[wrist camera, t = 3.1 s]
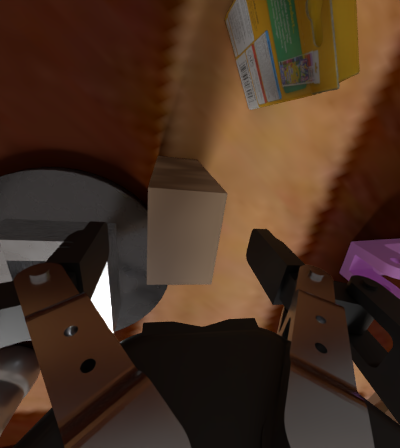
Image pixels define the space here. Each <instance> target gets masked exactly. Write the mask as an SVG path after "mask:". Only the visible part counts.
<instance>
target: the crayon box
mask: <svg viewBox="0 0 400 448" xmlns="http://www.w3.org/2000/svg"><path fill="white" fill-rule="evenodd" d="M225 23H226V26H227V29H228V33H229V37H230V40H231V44H232V47H233V51H234V55H235V58H236V63H237V66H238V70H239V74H240V78H241V82H242V85H243V89H244V92H245V96H246V100H247V104H248V108H249V109H250V110H251V109H256V108H260V107H265V106H269V105H273V104H278V103H282V102H286V101H291V100H295V99H299V98H303V97H307V96H312V95H315V94H318V93H322V92H326V91H330V90H337V89H339V83H340V82H342V81H344V80H346V79H348V78H350V77H352V76H354V75H357V74H358V73H359V53H358V30H357V8H356V0H234V1H233V3H232V5H231V7H230V9H229V10H228V12H227V14H226V16H225Z"/></svg>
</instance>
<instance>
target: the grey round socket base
mask: <svg viewBox="0 0 400 448" xmlns="http://www.w3.org/2000/svg"><path fill="white" fill-rule="evenodd" d="M90 221H97V222H106V223H107V226H108V238H109V257H108V261H107V263H106V265H105V268H104V270H103V272H102V275H101V277H100V279H99V282H98V284H97V286H96V289H95V291H94V293H93V296H92V298H91V301H92V302H93V304H94V305H95V307H96V308H97V310H98V311H99V313H100V315H101V316H102V318H103V319H104V321H105V322H106V324H107V325H108V327H109V328H110V330H111V331H112V333H113V334H114V332H115V331H117V330H120V329H122V328H125V327H127V326H129V325H131V324H133V323H135V322H137V321H138V320H140V319H141V318H143V317H144V316H145V315H147V314H148V313H149V312H150V311H151V310H152V309H153V308H154V307H155V306H156V305H157V304H158V302H159V301H160V299H161V298H162V296H163V294H164V292H165V290H166V288H167V285H147V227H148V207H147V206H146V205H145V204H144V203H143V202H142V201H141V200H140V199H138V198H137V197H136V196H135V195H134V194H132V193H131V192H129V191H128V190H126V189H125V188H123V187H122V186H120V185H118V184H116V183H114V182H112V181H110V180H108V179H106V178H103V177H100V176H98V175H95V174H92V173H88V172H84V171H81V170H76V169H69V168H60V167H42V168H32V169H26V170H22V171H18V172H14V173H11V174H7V175H4V176H1V177H0V283H5V282H10V281H14V278H15V276H16V275H17V274H18V273H19V272H21V271H22V270H24V269H26V268H28V267H30V266H33V265H36V264H40V263H45V262H46V261H47V259H48V258H49V257H50V256H51V255H52V254H53V253H54V251H55V250H56V249H57V248H58V247H59V246H60V245H61V243H62V242H64V240H65V239H66V238H67V237H68V235H70V234H72V233H74V232H76V231H77V230H83V229H84V228H85V227H86V225H87V224H88V223H89V222H90ZM26 341H31V339H29V340H26Z"/></svg>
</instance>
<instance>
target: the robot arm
mask: <svg viewBox="0 0 400 448" xmlns="http://www.w3.org/2000/svg"><path fill="white" fill-rule="evenodd" d="M108 257H109V238H108V226H107V223H106V222H97V221H90V222H89V223H88V224H87V225H86V227H85V228H84V229H83V230H77V231H76V232H74V233H72V234H70V235H68V237H67V238H66V239H65V240H64V242H62V243H61V245H60V246H59V247H58V248H57V249H56V250H55V251H54V253H53V254H52V255H51V256H50V257H49V258H48V259H47V261H46V262H45V263H40V264H36V265H33V266H30V267H28V268H26V269H24V270H22V271H21V272H19V273H18V274H17V275H16V276H15V278H14V281H10V282H5V283H0V351H1V349H2V348H3V347H5V346H9V345H12V344H15V343H19V342H22V341H26V340H29V339H31V341H32V344H33V347H34V350H35V354H36V357H37V360H38V363H39V366H40V370H41V373H42V376H43V379H44V382H45V386H46V389H47V392H48V395H49V398H50V402H51V405H52V408H51V409H50V410H49V411H48V412H47V413H46V414H45V415H44V416H43V417H42V418H41V419H40V420H39V421H38V422H37V423H36V424H35V425H34V426H33V427H32V428H31V429H30V430H29V431H28V432H27V433H26V434H25V435H24V436H23V437H22V439H21V440H20V441H19V442H18V443H17V444H16V445H15V446H14V447H13V448H400V425H399V424H400V299H399V298H398V297H396V296H395V295H394V294H393V293H391V292H390V291H389V290H387V289H386V288H385V287H384V286H382V285H381V284H379V283H378V282H376V281H374V280H372V279H370V278H367V277H364V276H360V275H353V276H351V278H350V280H349V281H348V283H347V284H346V283H342V282H337V281H333V278H332V277H331V276H330V275H329V274H328V273H327V272H326V271H324V270H322V269H320V268H318V267H315V266H311V265H305V264H304V263H303V262H302V261H301V260H300V259H299V258H298V257H297V256H296V255H295V254H294V253H292V251H291V250H290V249H289V248H288V247H287V246H286V245H285V244H284V243H283V242H282V241H280V240H278V239H277V238H275V237H274V236H273V235H272V234H271V233H270V232H269V231H268V230H267V229H253V230H252V233H251V237H250V240H249V244H248V248H247V253H246V257H247V262H248V263H249V265H250V267H251V268H252V270H253V272H254V274H255V275H256V277H257V279H258V280H259V282H260V284H261V285H262V287H263V289H264V290H265V292H266V294H267V296H268V297H269V299H270V301H271V302H272V304H273V305H279V304H283V305H284V308H283V311H282V314H281V319H280V323H279V328H278V332H277V334H276V333H274V332H272V331H269V330H267V329H263V328H259V327H258V325H257V323H256V320H255V318H245V319H228V320H225V321H221V322H218V323H215V324H212V325H208V326H205V327H200V326H194V325H189V324H183V323H178V322H150V323H143V330H142V333H139V334H136V335H134V336H131V337H129V338H127V339H125V340H123V341H122V342H120V343H119V342H118V340H117V339H116V337H115V336H114V334H113V333H112V331H111V330H110V328H109V327H108V325H107V324H106V322H105V321H104V319H103V318H102V316H101V315H100V313H99V311H98V310H97V308H96V307H95V305H94V304H93V302H92V301H91V298H92V296H93V293H94V291H95V289H96V286H97V284H98V282H99V279H100V277H101V275H102V272H103V270H104V268H105V265H106V263H107V261H108ZM373 319H375V320H376V321H377V322H378V323H379V324H380V325H381V326H382V327H383V328H384V329H385V330H386V331H387V332H388V333H389V334H390V336H391V337H392V340H393V348H392V349H391V350H390V352H389V353H388V352H387V351H386V350H385V349H384V348H383V347H382V346H381V344H380V343H379V342H378V341H377V340H376V339H375V338H374V337H373V336H372V335H371V334H370V332H369V331H368V330H367V328H368V327H369V325H370V324H371V322H372V321H373ZM352 360H353V362H354V363H355V364H356V366H357V367H358V368H359V370H360V371H361V373H362V374H363V375H364V377H365V378H366V379H367V381H368V382H369V383H370V385H371V386H372V387H373V389H374V390H375V392H376V393H377V394H378V396H379V397H380V398H381V400H382V401H383V402H384V404H385V405H386V407H387V408H388V409H389V411H390V412H391V413H392V415H393V416H394V417H395V419H396V420H397V421H398V423H399V424H398V423H396V422H395V421H393V420H392V419H391V418H390V417H389V416H387V415H386V414H385V413H383V412H382V411H381V410H379V409H378V408H377V407H375V406H374V405H373V404H371V403H370V402H369V401H367V400H366V399H365V398H363V397H362V396H361V395H359V394H358V392H357V388H356V382H355V375H354V368H353V362H352Z"/></svg>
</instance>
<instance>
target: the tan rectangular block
mask: <svg viewBox="0 0 400 448" xmlns="http://www.w3.org/2000/svg"><path fill="white" fill-rule="evenodd" d="M226 199H227V193H226V191H225V190H224V189H223V188H222V187H221V186H220V185H219V184H218V183H217V181H216V180H215V179H214V178H213V177H212V176H211V175H210V174H209V173H208V171H207V170H206V169H205V168H204V167H203V166H202V165H201V164H200V163H199V161H198V160H193V159H183V158H174V157H164V156H158V158H157V161H156V164H155V167H154V170H153V173H152V177H151V180H150V183H149V186H148V227H147V285H185V284H211V283H212V277H213V271H214V266H215V260H216V255H217V249H218V243H219V238H220V232H221V227H222V221H223V215H224V210H225V204H226Z"/></svg>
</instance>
